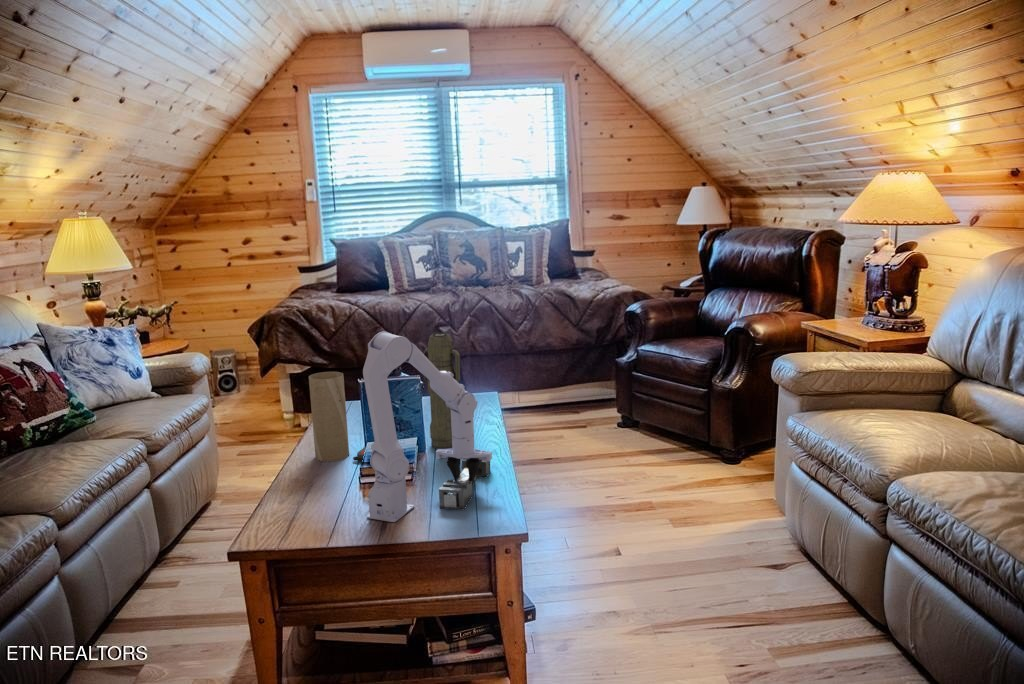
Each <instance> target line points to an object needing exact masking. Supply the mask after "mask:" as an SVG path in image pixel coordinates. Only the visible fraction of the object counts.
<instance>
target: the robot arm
mask: <svg viewBox="0 0 1024 684" xmlns="http://www.w3.org/2000/svg"><path fill="white" fill-rule="evenodd" d="M367 349H368V350H367V355H366V359H365V362H364V365H363V369H362V376H363V381H364V388H365V392H366V398H367V405H368V409H369V417H370V421H371V428H372V433H373V438H374V441H373V443H371V444H370V447H371V449H372V453H371V457H370V463H369V464H370V466H371V468H372V469H373V470H374V472H375V474H374V477H375V478H374V479H375V480H374V483H373V485H372V487H371V488H370V489H369V491H368V496H367V497H368V498H367V499H368V508H369V510H368V512H369V513H368V514H367V515H366V518H367V519H371V520H378V521H383V522H389V523H390V522H391V523H396V522H397V521H399V520H400V519H401V518H402V517H403V516H405V515H407V513H409V512H410V511H411V510H412V509H414V508H415V505H414V504H410V503H408V501H407V500H408V499H407V484H406V483H407V482H406V481H407V480H406V476H407V475H408V473H409V470H410V465H409V459H408V458H407V457H406V455H405V452H404V448H403V446H402V445H401V443H400V441H399V440H398V435H397V430H396V424H395V418H394V412H393V411H394V410H393V406H392V405H393V404H392V399H391V394H390V388H389V381H388V377H389V375H390V374H391V373H392V371H394V370H395V369H397V368H398V367H399V366H401V365H402V364H403V363H408V364H410V365H412V366H413V368H415V369H416V370H417V371H419V373H421V374H422V376H423V377H424V376H425V377H427V378H428V379H429V380H430V388H431V389H432V390H433V391H434V392H436V393H437V394H438V395H439V396H440V397H441V398H442V399H443V400H444V401H445V402H446V406H447V407H449V408H450V409H452V410H451V427H452V448H448V449H438V448H437V450H435V458H436V459H447V461H446V465H447V467H448V468H449V470H450V472H451V474H452V477H453V481H455V480H456V479H457V477H458V476H459V475H460V474H461V461H462V460H463V459H470V461H469V462H468V463H467V466H468V471H469V481H472V487H473V486H474V485H475V481H474V479H475V475H476V471H477V468H478V466H479V463H480V461H481V460H486V461H490V462H491V460H492V459H493V457H492V454H493V453H492V451H489V450H487V451H486V450H483V449H478V448H477V449H476V448H475V429H474V425H475V424H474V417H475V411H476V409H477V407H478V400H476V397H475V395H474V394H473V393H472V392H470V391H467V390H466V389H465V385H464V384H462V383H459V382H457V381H456V380H455V379H454V378H453V376H454V375H453V374H452V373H451V372H447V371H439V370H438V369H437V368H436V367H435V366H434V365H433V364H432V363H431V362H430V361H429V357H427V355H426V356H425V355H424V354H423V352H422V351H421V350H420V349H419V347H417V345H416V344H415V343H413V342H411V340H409V338H407V337H405V336H401V335H396V334H394V333H393V334H392V333H390V332H388V331H380V332H378V333H377V334H375V335H374V336H373V337H372V339H371V340H370V341H369V342H368V343H367ZM453 410H454V411H453Z"/></svg>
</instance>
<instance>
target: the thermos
mask: <svg viewBox="0 0 1024 684" xmlns="http://www.w3.org/2000/svg"><path fill="white" fill-rule="evenodd" d="M427 343H428V344H427V348H425V349H424V350H423V352H422V353H423V354H424V355H425V356H426V357H427V354H428V357H427V358H428V360H429V361H430V362H431V363H432V364H433V365H434V366H435V367H436V368H437V369H438V370H439V371H447V372H451V373H452V374H453V375H454V376H453V378H454V379H455V380H456V381H457V382H458V383H459V382H460V381H461V355H460V353H459V351H458V350H457V349H454V346H453V339H452V338H451V335H450V334H449V333H446V332H438V333H432V334H431V335H430V336H429V338H428V342H427ZM453 361H454V362H453ZM423 380H424V383H426V384H427V391H428V392H429V399H430V401H429V402H430V404H429V405H430V424H429V433H430V434H429V435H430V436H429V437H430V439H431V441H430V442H431V443H430V444H431V445H432V446H433V447H432V446H431V447H432V448H434V447H435V449H437V450H438V449H452V427H451V410H452V409H450V408H449V407H447V406H446V402H445V401H444V400H443V399H442V398H441V397H440V396H439V395H438V394H437V393H436V392H434V391H433V390H432V389H431V388H430V380H429V379H428V378H427V377H425V376H424V375H423ZM453 411H454V410H453Z"/></svg>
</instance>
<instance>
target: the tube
mask: <svg viewBox="0 0 1024 684" xmlns="http://www.w3.org/2000/svg"><path fill="white" fill-rule="evenodd" d="M344 379H345V378H344V373H343V372H339V371H322V372H316V373H312V374H310V375H309V376H308V385H309V398H310V408H311V409H310V410H311V419H312V420H311V421H312V431H313V445H314V455H315V460H317V461H319V460H320V462H324V461H326V462H327V461H331V462H337V460H338V461H341V459H342V460H344V459H346V458H348V457H349V456H348V455H350V446H349V445H350V443H349V433H348V431H349V430H348V420H347V419H348V418H347V406H346V403H347V402H346V391H345V380H344ZM326 462H325V463H326Z"/></svg>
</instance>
